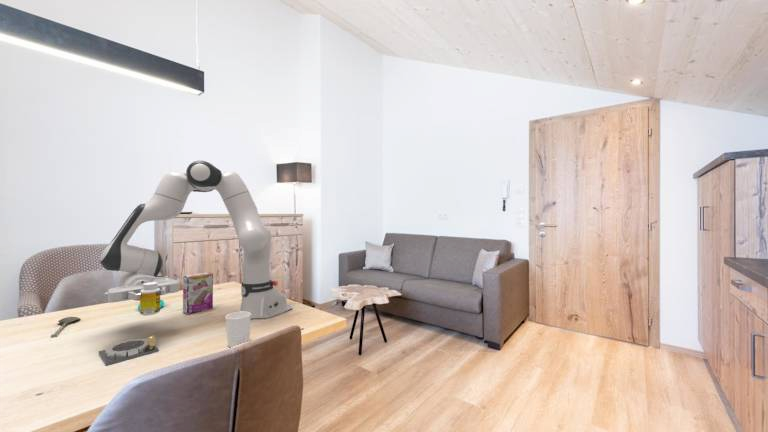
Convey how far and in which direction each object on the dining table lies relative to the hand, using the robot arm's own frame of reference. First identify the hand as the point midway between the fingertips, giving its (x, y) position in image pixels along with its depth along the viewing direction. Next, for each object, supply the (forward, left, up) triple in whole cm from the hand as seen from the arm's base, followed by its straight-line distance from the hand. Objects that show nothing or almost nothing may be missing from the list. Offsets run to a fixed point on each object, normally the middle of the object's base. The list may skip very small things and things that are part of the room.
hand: (150, 294), depth 109 cm
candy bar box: (-25, -29, -17) cm, 42 cm away
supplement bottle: (0, -1, -7) cm, 7 cm away
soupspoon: (+18, -45, -18) cm, 51 cm away
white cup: (-20, +21, -17) cm, 34 cm away
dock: (+6, +1, -17) cm, 18 cm away
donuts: (-12, -49, -17) cm, 53 cm away
